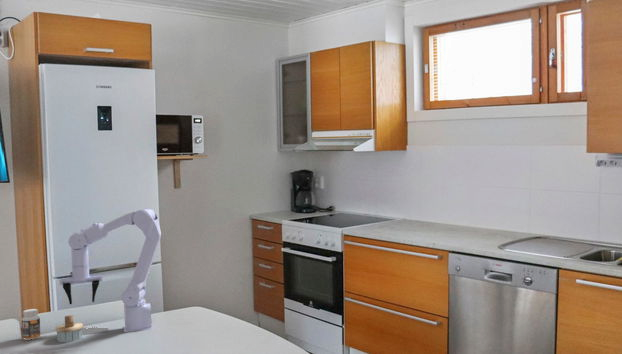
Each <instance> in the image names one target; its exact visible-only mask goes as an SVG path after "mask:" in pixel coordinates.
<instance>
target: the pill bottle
mask: <svg viewBox="0 0 622 354" xmlns="http://www.w3.org/2000/svg"><path fill="white" fill-rule="evenodd" d="M38 313H39V310H38V309H37V308H30V309H26V310H23V311H22V314H23V317H22V318H21V326H22V327H21V331H22V340H24V338H25V339H26V340H25V341H32V340H36V339H39V338H40V337H41V319H40V318H41V317H40V316H39V314H38ZM35 338H36V339H35ZM31 339H32V340H31Z"/></svg>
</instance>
